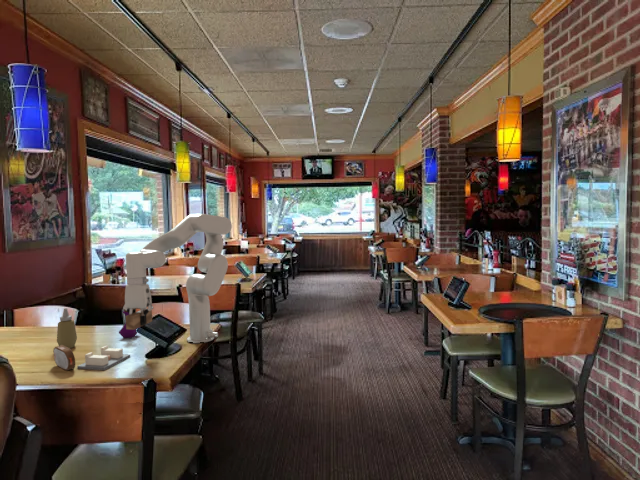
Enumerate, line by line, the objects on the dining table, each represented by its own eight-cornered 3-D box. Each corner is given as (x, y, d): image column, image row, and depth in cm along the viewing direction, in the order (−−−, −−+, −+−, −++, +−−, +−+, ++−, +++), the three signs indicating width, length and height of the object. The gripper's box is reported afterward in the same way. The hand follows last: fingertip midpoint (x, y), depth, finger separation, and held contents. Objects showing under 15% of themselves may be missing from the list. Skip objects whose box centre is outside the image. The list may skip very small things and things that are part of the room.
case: (152, 321, 190) (151, 308, 190) (133, 329, 178) (133, 316, 177) (145, 321, 191) (144, 308, 191) (126, 329, 178) (125, 316, 178)
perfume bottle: (133, 338, 212) (132, 302, 211) (118, 339, 212) (116, 302, 211) (140, 334, 220) (138, 299, 219) (125, 334, 220) (124, 299, 219)
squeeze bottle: (68, 350, 195) (66, 310, 194) (52, 349, 197) (50, 310, 196) (81, 345, 203) (79, 307, 202) (66, 344, 205) (64, 306, 204)
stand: (130, 356, 185) (129, 345, 184) (104, 370, 169) (103, 357, 169) (105, 355, 187) (104, 344, 187) (77, 368, 171) (76, 356, 171)
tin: (76, 370, 169) (75, 349, 168) (67, 373, 167) (66, 351, 166) (61, 363, 178) (60, 342, 178) (52, 365, 176) (51, 344, 176)
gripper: (159, 280, 185) (161, 322, 186) (124, 279, 188) (127, 321, 189) (149, 283, 177) (151, 327, 179) (113, 282, 181) (115, 326, 182)
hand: (138, 324), depth 184 cm, fingers closed on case, 3 cm apart
